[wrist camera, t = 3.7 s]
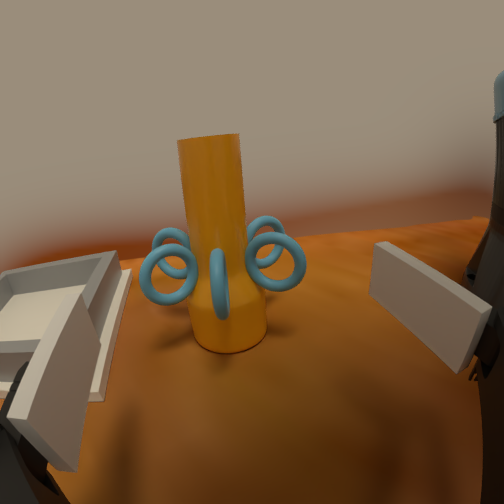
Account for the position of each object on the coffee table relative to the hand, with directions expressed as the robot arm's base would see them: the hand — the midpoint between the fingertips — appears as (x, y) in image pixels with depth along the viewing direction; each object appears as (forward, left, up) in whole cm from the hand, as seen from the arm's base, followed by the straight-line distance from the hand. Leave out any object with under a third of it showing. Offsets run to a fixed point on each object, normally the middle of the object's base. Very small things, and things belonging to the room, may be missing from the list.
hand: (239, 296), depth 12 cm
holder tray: (+20, -13, -8) cm, 25 cm away
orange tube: (0, -9, -9) cm, 12 cm away
